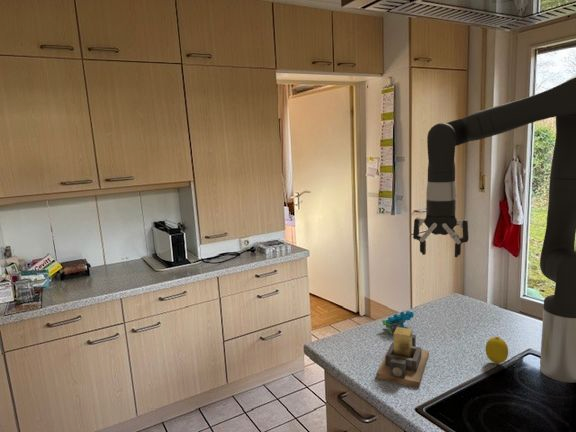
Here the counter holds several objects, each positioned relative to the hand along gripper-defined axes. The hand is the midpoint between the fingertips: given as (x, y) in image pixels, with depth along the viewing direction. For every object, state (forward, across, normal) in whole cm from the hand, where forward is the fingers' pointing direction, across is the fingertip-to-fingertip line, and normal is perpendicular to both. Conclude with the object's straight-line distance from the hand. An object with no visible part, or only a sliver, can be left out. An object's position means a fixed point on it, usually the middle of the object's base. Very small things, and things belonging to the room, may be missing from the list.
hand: (440, 255), depth 112 cm
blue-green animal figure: (+30, -14, +13) cm, 36 cm away
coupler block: (+29, -8, -10) cm, 31 cm away
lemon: (+30, +15, +1) cm, 34 cm away
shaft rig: (+30, -8, -10) cm, 33 cm away
